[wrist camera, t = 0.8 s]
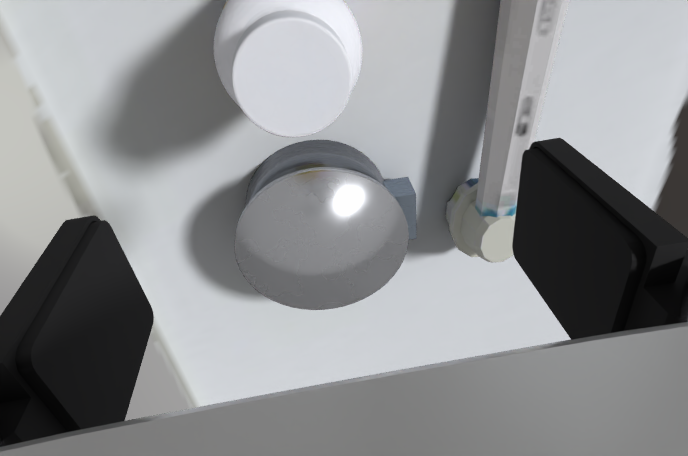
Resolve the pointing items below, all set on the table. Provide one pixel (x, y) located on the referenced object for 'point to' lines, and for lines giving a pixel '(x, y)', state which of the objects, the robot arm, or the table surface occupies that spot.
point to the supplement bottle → (288, 61)
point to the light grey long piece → (507, 126)
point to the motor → (323, 226)
